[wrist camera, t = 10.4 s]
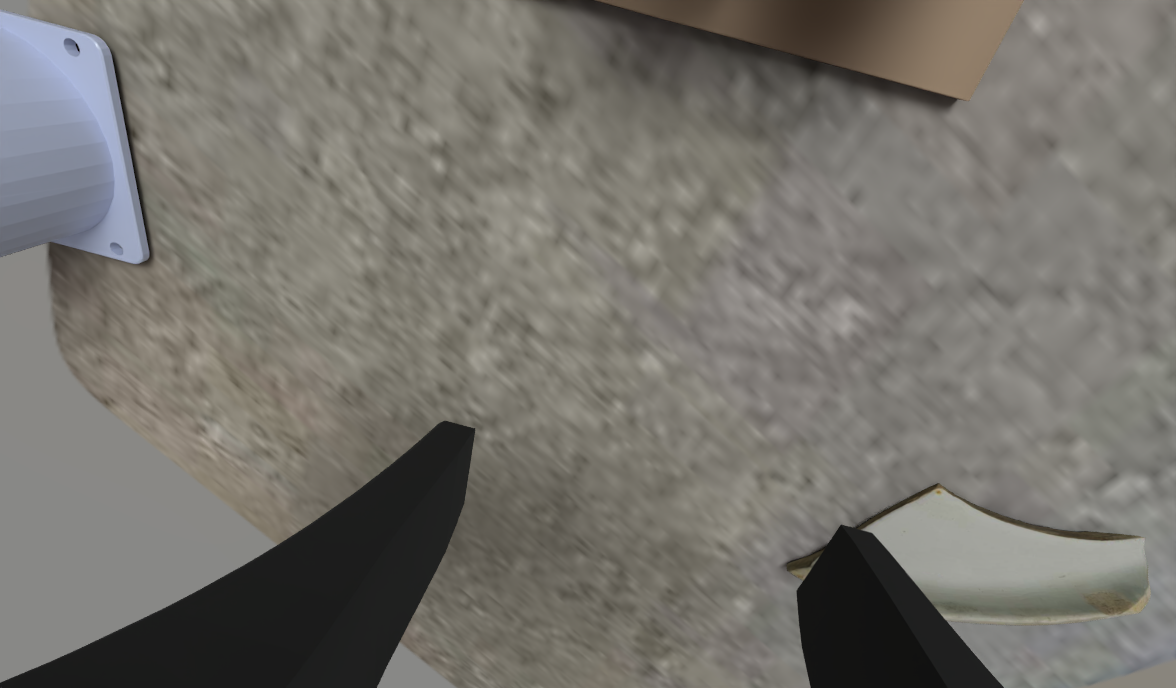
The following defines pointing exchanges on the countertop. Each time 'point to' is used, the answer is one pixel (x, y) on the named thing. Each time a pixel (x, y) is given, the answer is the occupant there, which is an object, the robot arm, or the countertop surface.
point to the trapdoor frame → (861, 34)
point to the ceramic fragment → (1006, 564)
